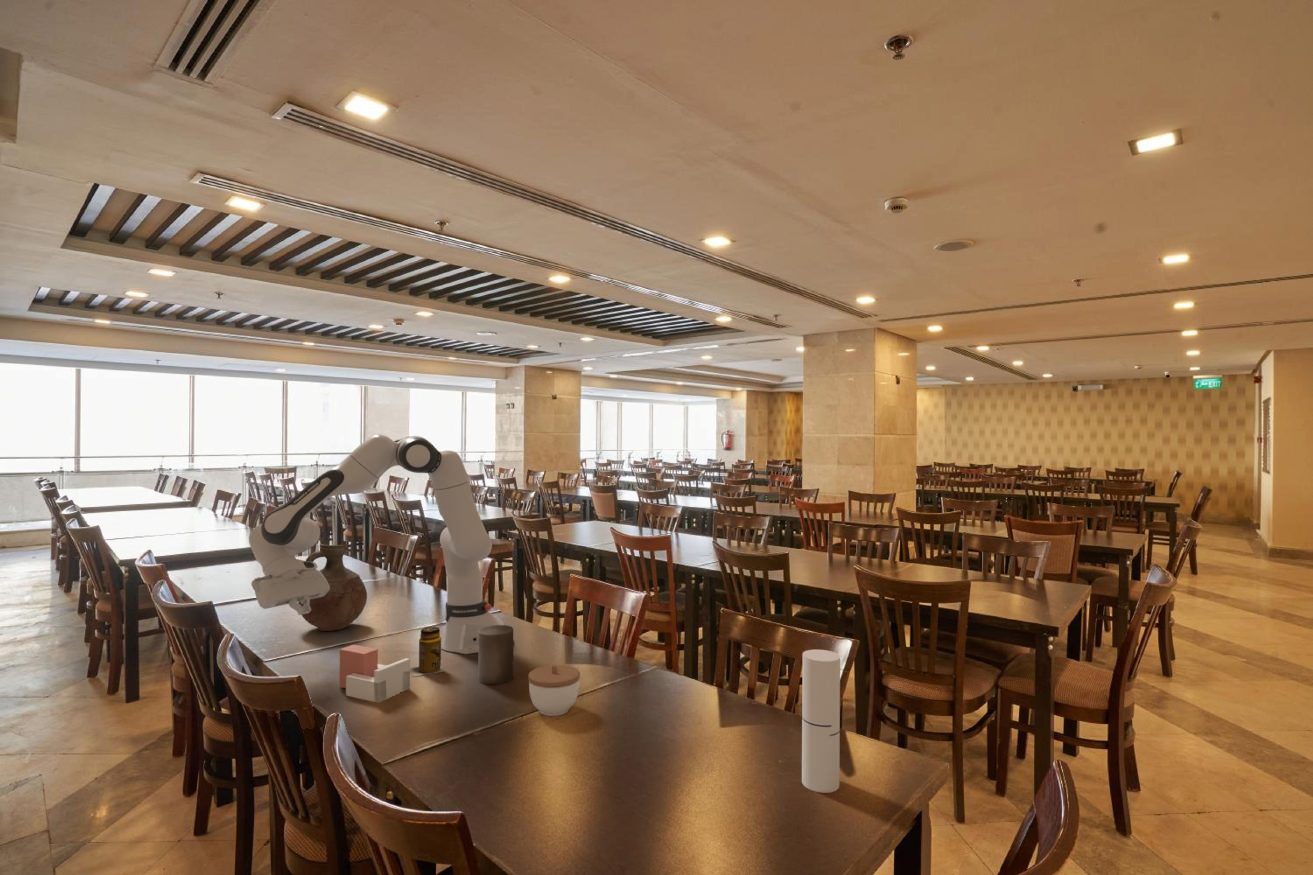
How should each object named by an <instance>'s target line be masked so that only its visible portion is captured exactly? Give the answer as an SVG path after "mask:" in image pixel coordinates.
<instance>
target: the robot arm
mask: <svg viewBox="0 0 1313 875" xmlns="http://www.w3.org/2000/svg"><path fill="white" fill-rule="evenodd" d="M396 466H397V467H398V466H400V467H401V468H403V469H404V470H406V471H408V472H411V473H416V474H417V473H418V474H428V475H429V478H430V479H431V484H432V488H433V492H434V497H435V500H436V504H437V505H436V506H437V508H438V512H439V515H440V517H441V518H442V519H443V521H444V524H445V526H446V527H445V528H444V529H443V530H442V531H441V532H440V536H439V543H440V546H441V549H442V555H443V561H444V562H443V563H444V566H445V572H446V602H445V608H444V619H445V628H444V634H443V639H442V642H441V650H443V651H446V652H451V653H458V654H459V653H460V654H463V655H469V654H476V653H478V647H479V646H478V631H479V630H480V629H481V628H484V627H487V626H494V625H505V623H504V622H503V621H502V620H501V619H500V618H498V617H497V616H495V615H494V614H493V613H492V612H490V611H491V610H492V605H491V604H490V603H489V602H488V601H487V600H485V599H483V574H482V572H481V568H480V564H479V562H481V561H483V560H485V559H486V558H487V557H488V556H489V555H490V553H491V552H492V549H493V543H492V542H493V541H492V539H491V537H490V535H489V534H488V532H487V530H486V528H485V526H484V523H483V521H482V518H481V516H480V514H479V511H478V510H477V507H476V504H475V501H474V496H473V493H472V489H471V485H470V481H469V477H468V474H467V471H466V468H465V464H464V463H463V460H462V458H461V456H460V455H459V453H457V452H455V451H452V450H442V451H439V450H438V449H437V447H435V446H434V445H433V444H432V443H431V442H430V441H429V440H428V439H426V438H424V437H423V436H419V435H412V436H407V437H404V438H400V439H396V440H394V439H392V438H390V437H389V436H387V435H385V434H374V435H372V436H371V437H369V438H367V439H366V440H365V441H364V442H362V443H361V444H360V445H358V446H357V447H356V448H355V449H354V450H353V451H352V452H351V453H350V454H349V455H348V456H346V457H345V458H344V459H343V460H342V461H341V462H339V463H338V464H337V465H335V466H334V467H333V468H331V469H329V470H327V471H325V472H324V473H322V474H320V475H319V476H318V477H317V478H315V479H314V480H313V481H312V482H310V483H309V484H308V485H307V486H306V487H303V489H302V490H301V491H300V492H297V494H296V495H294V496H293V497H292V498H291V499H290V500H289V501H287V502H285V503H284V504H281V505H280V506H278V507H276V508H274V509H272V510H271V511H269V512H268V513H267V514H266V515H265V516H264V518H263V520H262V523H260V524H259V525H257V526H255V527H254V528H253V529H252V530H251V532H250V533H249V536H248V544H249V547H250V549H251V551H252V553H253V556H254V558H255V559H256V561H257V563H259V564H260V566H261V570H262V573H263V575H264V576H262V577H259V576H258V577H255V578H253V580H252V581H251V587H252V589H253V591H254V594H255V597H256V600H257V603H258V605H259V607H260V608H262V609H264V610H266V609H273V608H275V607H276V608H277V607H280V606H286V605H288V606H289V607H290V608H291V609H293V610H294V611H296V612H297V614H298V615H299V616H302V614H307V613H309V612H310V611H311V608H310V606H309V603H310V599H314V598H319V597H323V596H325V594H326V593H327V592H328V591H329V589H330V586H329V584H328V582H327V580H326V578H325V577H324V575H323V574H322V573H321V572H320V570H318V569H317V568H318V565H317V563H316V562H314V561H313V562H309V561H306V560H302V559H299V558H296V556H297V555H299V554H302V553H303V552H306V551H308V550H310V549H311V548H313V547H314V546H315V545H316V544H317V543H318V542H319V540H320V537H321V528H320V525H319V523H318V522H316V521H315V520H313V519H311V518H309V517H308V516H309V515H310V514H311V513H313V511H314V510H315V509H317V508H318V507H319V506H320V505H322V503H324V502H325V501H326V500H328V499H330V498H332V497H335V496H339V495H356V494H361V493H364V492H365V491H367V490H368V489H370V488H371V487H373V485H374V484H375V483H376V482H377V481H378V480H379V479H380V478H381V477H382V476H383V475H384V474H385V473H386V472H387V471H389V469H391V468H393V467H396ZM298 602H301V604H304V606H301V605H300V604H298Z"/></svg>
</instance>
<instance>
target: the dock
mask: <svg viewBox="0 0 1313 875" xmlns="http://www.w3.org/2000/svg"><path fill="white" fill-rule="evenodd" d="M410 668H411V659H410V658H406V657H405V658H403V659H400V660H397V661H395V662H392V663H390V664H387V665H386V664H381V663H378V669H377V670H374V677H370V676H365V675H361V674H356V673H353V674H350V675H348V676H346V688H345V696H347V697H350V698H351V697H352V698H355V699H359V700H364V701H368V702H373V703H376V704H379V703H381V702H384V701H386V700H389V699H390V697H391V698H392V696H393V697H395V696H397V695H399V694H401V693H400V692H402V693H404V692H406V691H408V690H410V688H411V686H410V685H411V672H410ZM405 690H406V691H405ZM403 691H404V692H403ZM396 694H397V695H396Z"/></svg>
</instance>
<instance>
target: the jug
mask: <svg viewBox="0 0 1313 875" xmlns="http://www.w3.org/2000/svg"><path fill="white" fill-rule="evenodd" d="M348 550H349V548H348V547H347V545H346V544H335V545H334V544H332V545H329V544H323V543H320V545H319V551H314V552H312V553H311V554H309V555H308V556H307V557H306V559H305V561H309V562H314V561H315V560H317V559H319V558H325V560H326V562H325V565H324V567H323V568H321V569H320V570H319V571H320V572H321V573H322V574H323V575H324V577H325V578H326V580H327V582H328V584H329V586H330V589H329V591H328V592H327V593H326V594H325V596H323V597H319V598H314V599H310V603H309V606H310V608H311V611H310V612H309V613H307V614H302V615H301V617H302V618H303V620H305V621H306V622H307V623H308V624H310V625H312V626H313V627H316V628H317V630H318V631H319V632H326V631H327V632H331V631H332V632H333V631H335V630H343V629H345V628H347V627H348V626H349V625H350V624H352V623H353V622H354V621H355V620H358V618H359V617H360V615H361V614H362V613H363V611H364V609H365V607H366V604H367V599H368V592H367V588H366V586H365V583H364V581H363V580H362V578H361V576H360V574H358V573H356V572H355V571H353V570H351V569H349V568H347V567H346V566H345V565H344V561H343V559H344V555H345V554H346V553H347V551H348ZM297 603H298V604H300V605H301V606H304V604H301V602H297Z"/></svg>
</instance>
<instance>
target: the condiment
mask: <svg viewBox="0 0 1313 875" xmlns="http://www.w3.org/2000/svg"><path fill="white" fill-rule="evenodd" d="M440 632H441V631H440V628H439V627H438V626H427V627H423V628H421V630H420V638H419V640H418V666H414V667H410V674H412V676H413V677H420V676H421V677H422V676H426V675H432V674H437V673H442V672H445V669H444V668H442V666H441V664H442V663H441V662H442V661H441V660H442V648H441V646H442V637H441V636H440V635H441V634H440ZM439 671H440V672H439Z"/></svg>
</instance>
